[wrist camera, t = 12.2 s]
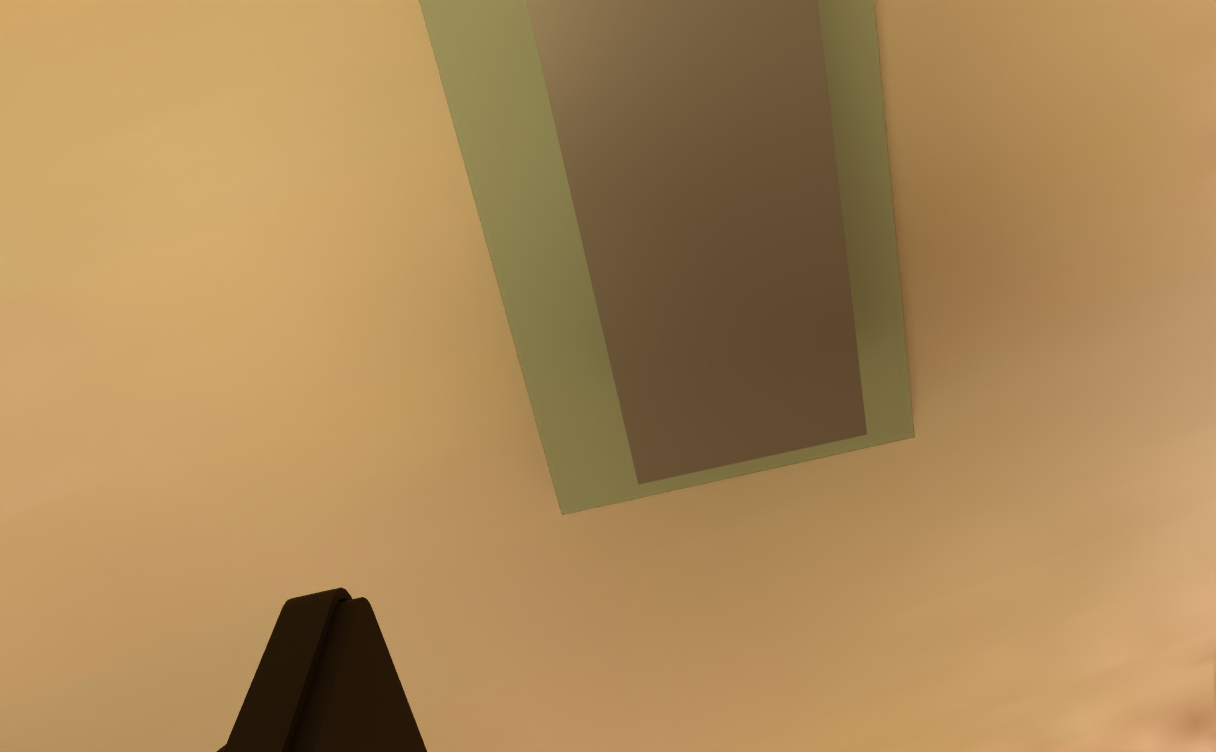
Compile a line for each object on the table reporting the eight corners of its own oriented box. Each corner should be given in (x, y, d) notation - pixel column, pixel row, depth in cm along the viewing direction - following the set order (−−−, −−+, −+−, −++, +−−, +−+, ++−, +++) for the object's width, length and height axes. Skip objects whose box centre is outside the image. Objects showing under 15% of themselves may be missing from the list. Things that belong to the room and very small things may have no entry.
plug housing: (806, 348, 29) (867, 434, 24) (620, 390, 29) (638, 484, 24) (750, -63, 25) (809, -75, 19) (528, -11, 25) (524, -8, 19)
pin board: (898, 417, 32) (957, 490, 28) (561, 492, 32) (564, 576, 28) (831, -254, 24) (898, -309, 20) (385, -146, 25) (349, -174, 20)
